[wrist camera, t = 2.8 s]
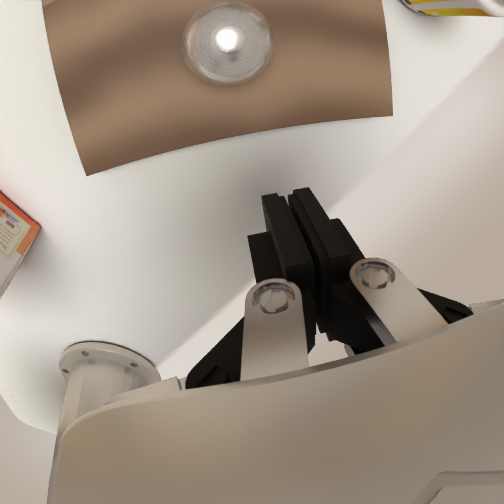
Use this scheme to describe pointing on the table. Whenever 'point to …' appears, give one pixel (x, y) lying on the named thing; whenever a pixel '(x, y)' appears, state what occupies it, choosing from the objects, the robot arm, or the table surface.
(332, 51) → the wooden board
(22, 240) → the cracker box
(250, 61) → the steel ball
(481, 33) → the table surface
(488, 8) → the supplement bottle
